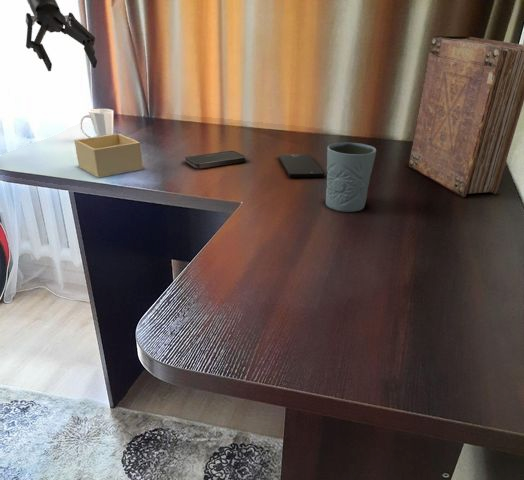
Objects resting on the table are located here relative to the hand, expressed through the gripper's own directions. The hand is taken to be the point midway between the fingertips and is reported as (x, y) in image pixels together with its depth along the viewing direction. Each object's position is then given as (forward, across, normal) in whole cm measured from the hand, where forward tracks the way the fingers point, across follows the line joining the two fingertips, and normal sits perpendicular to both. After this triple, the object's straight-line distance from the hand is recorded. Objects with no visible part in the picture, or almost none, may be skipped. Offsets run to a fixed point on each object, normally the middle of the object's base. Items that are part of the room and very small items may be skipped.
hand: (73, 66), depth 147 cm
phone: (+48, -15, +22) cm, 55 cm away
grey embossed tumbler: (+78, -19, +52) cm, 96 cm away
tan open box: (+40, +10, +14) cm, 44 cm away
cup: (+21, 0, -5) cm, 22 cm away
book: (+81, -54, +55) cm, 111 cm away
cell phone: (+60, -30, +34) cm, 75 cm away
